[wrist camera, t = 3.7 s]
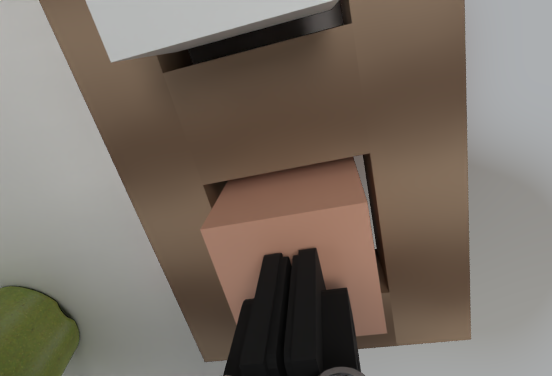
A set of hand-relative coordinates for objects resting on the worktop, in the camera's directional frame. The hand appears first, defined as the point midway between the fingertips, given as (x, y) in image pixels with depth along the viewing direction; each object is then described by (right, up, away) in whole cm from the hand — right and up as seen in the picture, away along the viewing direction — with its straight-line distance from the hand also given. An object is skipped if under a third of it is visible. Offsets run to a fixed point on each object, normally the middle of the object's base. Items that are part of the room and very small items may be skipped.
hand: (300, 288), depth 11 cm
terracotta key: (0, +2, +4) cm, 4 cm away
